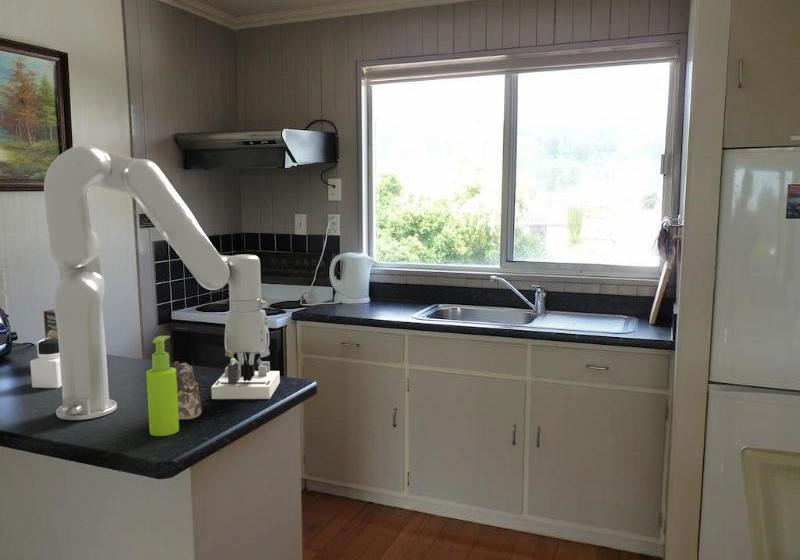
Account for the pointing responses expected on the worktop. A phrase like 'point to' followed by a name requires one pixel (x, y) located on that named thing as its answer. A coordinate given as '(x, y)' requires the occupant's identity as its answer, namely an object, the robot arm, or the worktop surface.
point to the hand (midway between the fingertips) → (248, 379)
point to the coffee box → (50, 324)
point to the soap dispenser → (162, 393)
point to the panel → (247, 385)
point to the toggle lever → (261, 363)
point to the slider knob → (233, 372)
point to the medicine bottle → (46, 365)
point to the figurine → (187, 392)
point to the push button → (235, 361)
